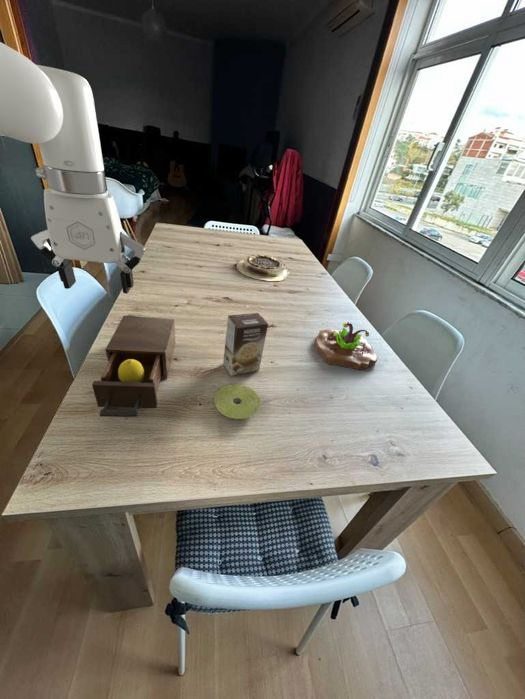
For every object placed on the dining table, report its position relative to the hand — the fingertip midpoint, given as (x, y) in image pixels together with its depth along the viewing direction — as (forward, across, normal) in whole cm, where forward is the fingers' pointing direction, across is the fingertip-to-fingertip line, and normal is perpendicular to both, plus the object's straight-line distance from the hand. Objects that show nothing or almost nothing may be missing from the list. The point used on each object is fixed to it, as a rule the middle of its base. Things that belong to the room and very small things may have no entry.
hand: (99, 287), depth 53 cm
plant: (+28, +65, +24) cm, 75 cm away
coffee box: (+28, +30, +13) cm, 43 cm away
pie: (+28, +44, +90) cm, 104 cm away
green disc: (+28, +28, -2) cm, 40 cm away
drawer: (+27, +3, 0) cm, 27 cm away
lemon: (+26, +3, +2) cm, 27 cm away
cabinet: (+28, +3, +15) cm, 32 cm away
